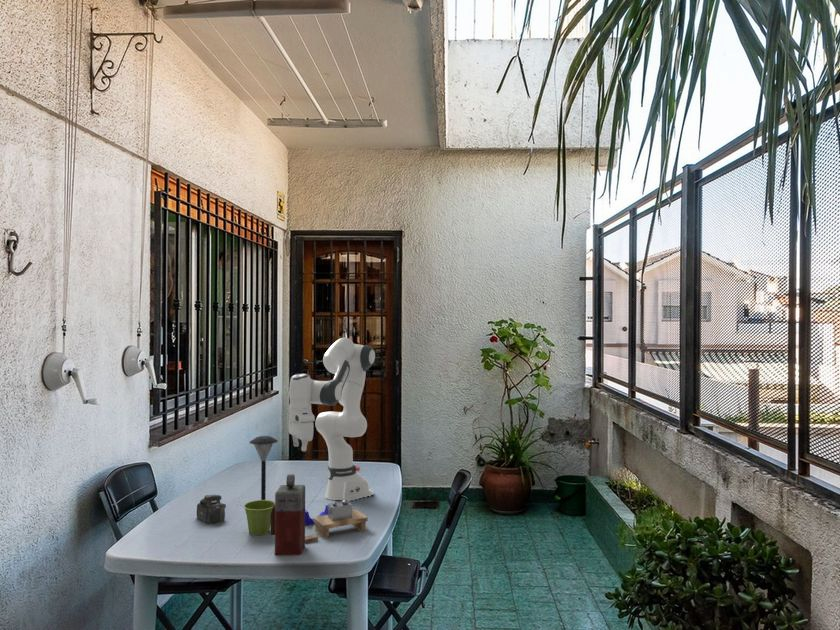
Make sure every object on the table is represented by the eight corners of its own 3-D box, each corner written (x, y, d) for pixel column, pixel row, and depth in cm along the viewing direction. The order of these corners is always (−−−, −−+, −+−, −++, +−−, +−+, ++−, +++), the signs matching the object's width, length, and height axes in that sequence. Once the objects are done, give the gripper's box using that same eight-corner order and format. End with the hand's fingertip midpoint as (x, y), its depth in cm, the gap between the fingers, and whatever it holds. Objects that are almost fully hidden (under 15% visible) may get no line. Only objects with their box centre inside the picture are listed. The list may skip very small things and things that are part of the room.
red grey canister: (272, 550, 205) (273, 471, 205) (305, 550, 205) (305, 471, 205) (267, 561, 196) (268, 478, 196) (301, 560, 196) (301, 478, 197)
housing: (327, 517, 222) (327, 501, 222) (347, 513, 226) (347, 498, 226) (332, 521, 218) (332, 505, 218) (352, 517, 222) (352, 501, 222)
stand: (356, 524, 231) (356, 509, 231) (367, 533, 222) (367, 517, 222) (313, 533, 222) (313, 517, 222) (322, 542, 213) (322, 525, 213)
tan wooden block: (314, 542, 213) (314, 534, 213) (317, 545, 211) (317, 536, 211) (301, 545, 210) (301, 537, 210) (305, 548, 208) (305, 539, 208)
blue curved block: (327, 518, 238) (327, 503, 238) (332, 521, 235) (332, 506, 235) (300, 524, 231) (300, 509, 231) (304, 527, 228) (305, 512, 228)
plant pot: (258, 542, 212) (259, 511, 212) (236, 536, 218) (236, 506, 218) (282, 532, 222) (282, 503, 222) (260, 526, 228) (260, 497, 228)
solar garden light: (270, 512, 245) (270, 441, 245) (243, 510, 247) (243, 439, 247) (282, 503, 257) (283, 435, 257) (256, 501, 259) (257, 434, 259)
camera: (232, 518, 237) (232, 494, 237) (215, 526, 228) (215, 501, 228) (206, 514, 242) (207, 490, 242) (189, 521, 233) (189, 497, 233)
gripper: (284, 411, 243) (284, 444, 243) (300, 418, 225) (300, 454, 225) (299, 410, 246) (299, 442, 246) (316, 417, 228) (316, 452, 228)
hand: (299, 448), depth 235 cm, fingers open, 8 cm apart
